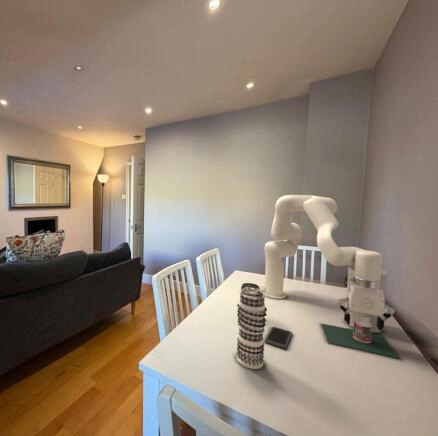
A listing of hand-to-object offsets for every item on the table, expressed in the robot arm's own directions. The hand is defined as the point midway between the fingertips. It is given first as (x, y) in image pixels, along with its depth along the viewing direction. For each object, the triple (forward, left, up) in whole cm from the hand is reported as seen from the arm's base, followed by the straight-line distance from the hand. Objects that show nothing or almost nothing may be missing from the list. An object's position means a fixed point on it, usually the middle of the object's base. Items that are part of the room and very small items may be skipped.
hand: (363, 325), depth 95 cm
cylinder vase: (+4, +15, -6) cm, 17 cm away
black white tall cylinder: (-38, -33, -6) cm, 51 cm away
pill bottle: (0, 0, -6) cm, 6 cm away
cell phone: (-29, -13, -6) cm, 32 cm away
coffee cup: (-41, +1, -6) cm, 42 cm away
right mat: (-2, 0, -6) cm, 6 cm away
